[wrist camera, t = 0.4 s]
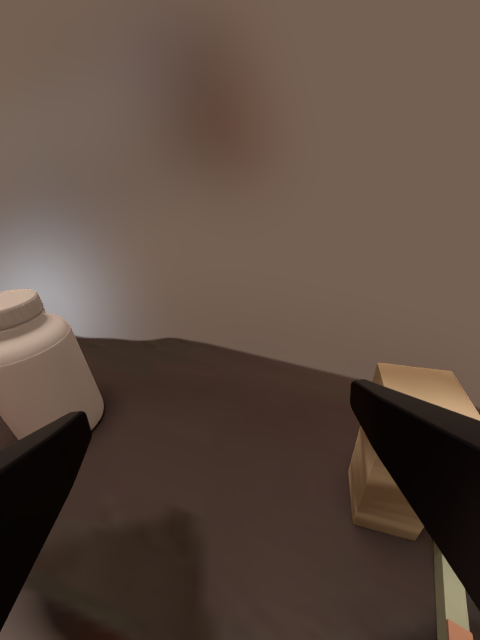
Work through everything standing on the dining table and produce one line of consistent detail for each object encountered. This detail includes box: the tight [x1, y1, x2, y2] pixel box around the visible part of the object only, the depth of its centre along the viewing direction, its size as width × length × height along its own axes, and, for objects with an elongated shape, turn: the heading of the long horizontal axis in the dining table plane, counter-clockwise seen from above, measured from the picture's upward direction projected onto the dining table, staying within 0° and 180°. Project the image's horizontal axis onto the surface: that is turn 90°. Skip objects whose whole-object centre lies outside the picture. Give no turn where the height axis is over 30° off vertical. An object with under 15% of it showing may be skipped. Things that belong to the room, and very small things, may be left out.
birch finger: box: [348, 363, 480, 541], centre depth 17 cm, size 4×4×12 cm
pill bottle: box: [0, 289, 104, 440], centre depth 25 cm, size 8×8×15 cm
